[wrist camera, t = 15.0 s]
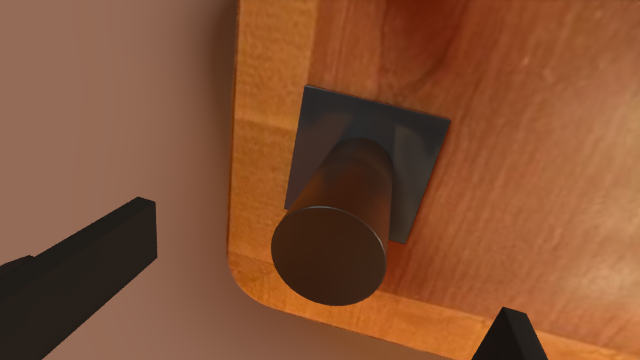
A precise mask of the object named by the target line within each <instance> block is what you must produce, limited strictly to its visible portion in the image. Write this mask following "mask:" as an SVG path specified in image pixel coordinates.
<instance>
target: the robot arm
mask: <svg viewBox="0 0 640 360" xmlns="http://www.w3.org/2000/svg"><path fill="white" fill-rule="evenodd" d="M155 205H156V204H155V202H154V201H151V200H147V199H144V198H141V197H136V198H135V199H133V200H131V201H130V202H128V203H126V204H125V205H123V206H121V207H119V208H118V209H116V210H114V211H112V212H111V213H109V214H107V215H106V216H104V217H102V218H100V219H99V220H97V221H96V222H94V223H92V224H90V225H89V226H87V227H85V228H83V229H82V230H80V231H78V232H77V233H75V234H73V235H71V236H70V237H68V238H66V239H64V240H63V241H61V242H59V243H58V244H56V245H54V246H52V247H51V248H49V249H47V250H46V251H44V252H42V253H40V254H39V255H37V256H35V257H33V256H30V255H28V256H26V257H22V258H19V259H16V260H14V261H11V262H8V263H5V264H3V265H1V266H0V360H42V359H43V358H44V357H45V356H47V355H48V354H49V353H50V352H51V351H52V350H53V349H54V348H56V347H57V346H58V345H59V344H60V343H61V342H62V341H63V340H65V339H66V338H67V337H68V336H69V335H70V334H71V333H72V332H74V331H75V330H76V329H77V328H78V327H79V326H80V325H81V324H83V323H84V322H85V321H86V320H87V319H88V318H90V317H91V316H92V315H93V314H94V313H95V312H96V311H97V310H99V309H100V308H101V307H102V306H103V305H104V304H105V303H106V302H108V301H109V300H110V299H111V298H112V297H113V296H114V295H115V294H117V293H118V292H119V291H120V290H121V289H122V288H124V286H126V285H127V284H128V283H129V282H130V281H131V280H133V279H134V278H135V277H136V276H137V275H138V274H139V273H140V272H142V270H144V269H145V268H146V267H147V266H148V265H150V264H151V263H152V262H153V261H154V260H155V259H156V258H157V233H156V206H155ZM471 360H548V358H547V356H546V354H545V352H544V350H543V348H542V346H541V343H540V341H539V339H538V337H537V335H536V333H535V331H534V329H533V327H532V325H531V322H530V320H529V318H528V316H527V314H526V313H523V312H519V311H516V310H513V309H509V308H506V307H502V309H501V310H500V312H499V314H498V315H497V317H496V319H495V320H494V322H493V324H492V326H491V327H490V329H489V331H488V332H487V334H486V336H485V337H484V339H483V341H482V342H481V344H480V346H479V347H478V349H477V351H476V353H475V354H474V356H473V358H472V359H471Z"/></svg>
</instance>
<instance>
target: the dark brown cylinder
mask: <svg viewBox="0 0 640 360" xmlns="http://www.w3.org/2000/svg"><path fill="white" fill-rule="evenodd" d="M392 183H393V164H392V161H391V158H390V156H389V154H388V153H387V151H386V150H385V149H384V148H383V147H382V146H381V145H379V144H378V143H376V142H375V141H372V140H370V139H367V138H361V137H354V138H348V139H345V140H343V141H341V142H339V143H338V144H336V145H335V146H334V147H333V148H332V149H331V150H330V152H329V153H328V155H327V156H326V158H325V159H324V160H323V162H322V163H321V165H320V166H319V168H318V169H317V170H316V172H315V173H314V175H313V176H312V177H311V179H310V180H309V182H308V183H307V185H306V186H305V187H304V189H303V190H302V192H301V193H300V195H299V196H298V197H297V199H296V200H295V202H294V203H293V205H292V206H291V207H290V209H289V210H288V212H287V213H286V215H285V216H284V217H283V219H282V220H281V222H280V223H279V225H278V226H277V228H276V229H275V232H274V234H273V237H272V242H271V254H272V259H273V263H274V265H275V268H276V270H277V272H278V274H279V275H280V277H281V278H282V279H283V281H284V282H285V283H286V284H287V285H288V286H289V287H290V288H291V289H292V290H294V291H295V292H296V293H298V294H299V295H301V296H302V297H304V298H306V299H308V300H311V301H313V302H316V303H320V304H324V305H330V306H345V305H351V304H355V303H358V302H360V301H363V300H364V299H366V298H368V297H369V296H370V295H372V294H373V293H374V292H375V291H376V290H377V289H378V288H379V286H380V285H381V283H382V281H383V279H384V277H385V273H386V268H387V255H388V240H389V226H390V211H391V197H392Z"/></svg>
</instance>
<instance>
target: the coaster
mask: <svg viewBox="0 0 640 360" xmlns="http://www.w3.org/2000/svg"><path fill="white" fill-rule="evenodd" d="M450 122H451V119H450V118H447V117H443V116H439V115H434V114H430V113H426V112H422V111H417V110H413V109H409V108H405V107H401V106H396V105H392V104H388V103H384V102H380V101H375V100H371V99H367V98H363V97H358V96H354V95H350V94H346V93H342V92H337V91H333V90H329V89H325V88H321V87H316V86H312V85H308V84H307V85H305V87H304V93H303V99H302V105H301V111H300V117H299V122H298V128H297V134H296V140H295V146H294V152H293V158H292V164H291V170H290V176H289V182H288V188H287V194H286V200H285V206H284V209H286V210H289V209H290V207H291V206H292V205H293V203H294V202H295V200H296V199H297V197H298V196H299V195H300V193H301V192H302V190H303V189H304V187H305V186H306V185H307V183H308V182H309V180H310V179H311V177H312V176H313V175H314V173H315V172H316V170H317V169H318V168H319V166H320V165H321V163H322V162H323V160H324V159H325V158H326V156H327V155H328V153H329V152H330V150H331V149H332V148H333V147H334V146H335V145H336V144H338V143H339V142H341V141H343V140H345V139H348V138H354V137H361V138H367V139H370V140H372V141H375V142H376V143H378V144H379V145H381V146H382V147H383V148H384V149H385V150H386V151H387V153H388V154H389V156H390V158H391V161H392V164H393V183H392V197H391V211H390V226H389V240H391V241H395V242H398V243H401V244H405V243H406V241H407V238H408V235H409V233H410V230H411V227H412V225H413V222H414V219H415V217H416V214H417V211H418V208H419V206H420V203H421V200H422V198H423V195H424V192H425V190H426V187H427V184H428V181H429V179H430V176H431V173H432V171H433V168H434V165H435V163H436V160H437V157H438V154H439V152H440V149H441V146H442V144H443V141H444V138H445V136H446V133H447V130H448V127H449V125H450Z"/></svg>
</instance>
